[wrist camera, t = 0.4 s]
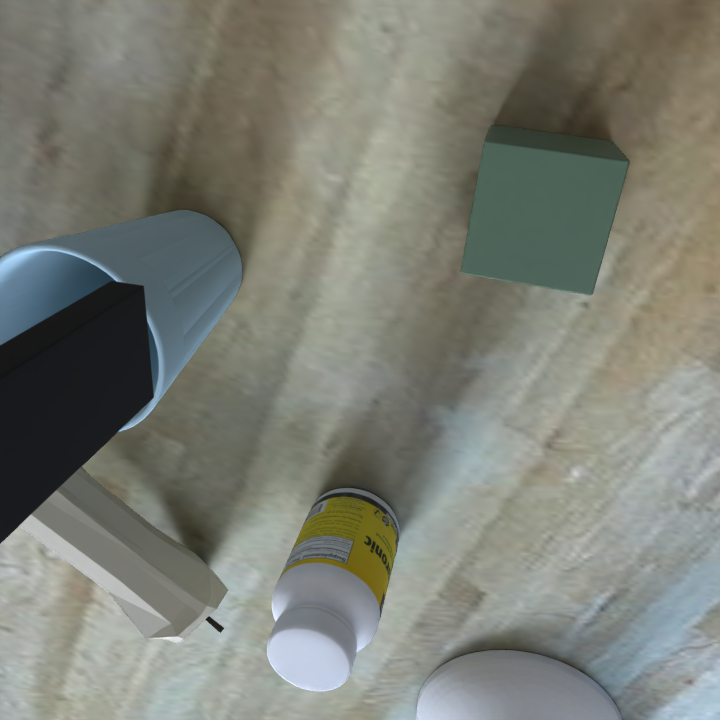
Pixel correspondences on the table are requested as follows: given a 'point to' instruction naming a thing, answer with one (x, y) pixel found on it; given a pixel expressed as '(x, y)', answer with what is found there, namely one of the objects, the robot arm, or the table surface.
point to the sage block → (543, 208)
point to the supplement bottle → (332, 588)
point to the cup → (131, 282)
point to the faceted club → (128, 559)
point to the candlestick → (512, 690)
